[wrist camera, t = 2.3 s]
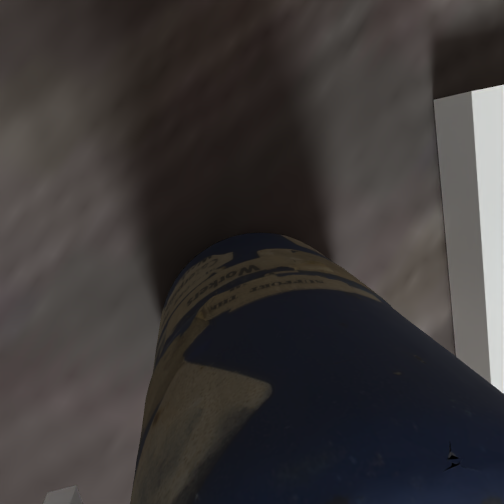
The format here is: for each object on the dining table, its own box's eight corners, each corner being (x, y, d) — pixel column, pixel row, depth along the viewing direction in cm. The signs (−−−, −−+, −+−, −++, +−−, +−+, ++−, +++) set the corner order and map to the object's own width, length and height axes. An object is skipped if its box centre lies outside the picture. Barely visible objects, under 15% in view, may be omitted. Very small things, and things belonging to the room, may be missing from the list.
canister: (231, 189, 21) (431, 349, 4) (375, 289, 23) (920, 681, 6) (125, 344, 22) (-113, 1054, 5) (273, 426, 24) (486, 1109, 7)
